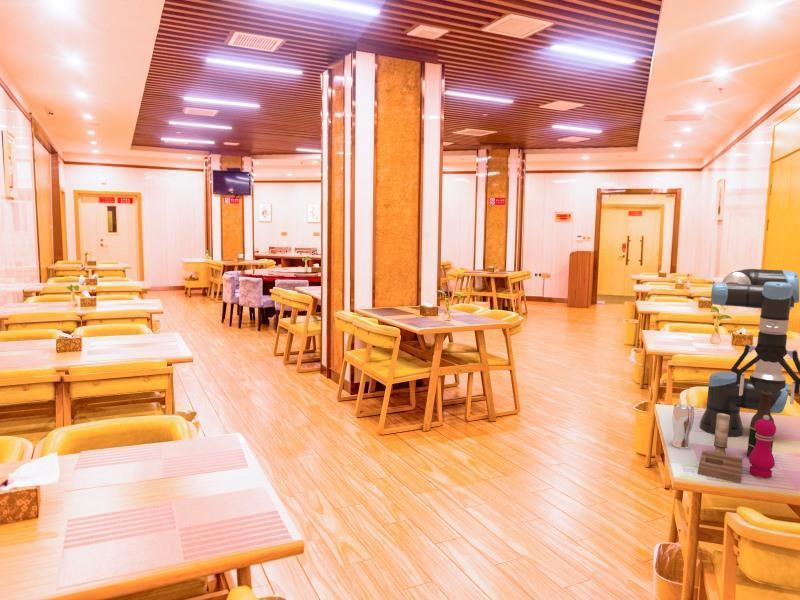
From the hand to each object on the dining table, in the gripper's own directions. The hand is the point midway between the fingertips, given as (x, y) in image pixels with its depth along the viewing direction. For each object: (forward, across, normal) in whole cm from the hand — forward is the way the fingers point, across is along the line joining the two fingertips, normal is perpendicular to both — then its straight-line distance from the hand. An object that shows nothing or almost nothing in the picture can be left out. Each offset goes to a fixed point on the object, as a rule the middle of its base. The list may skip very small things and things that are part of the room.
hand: (765, 399), depth 182 cm
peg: (+27, -14, +18) cm, 35 cm away
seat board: (+27, -11, +2) cm, 29 cm away
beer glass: (+27, -26, +16) cm, 41 cm away
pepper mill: (+27, 0, +6) cm, 28 cm away
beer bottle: (+27, -2, +22) cm, 35 cm away
